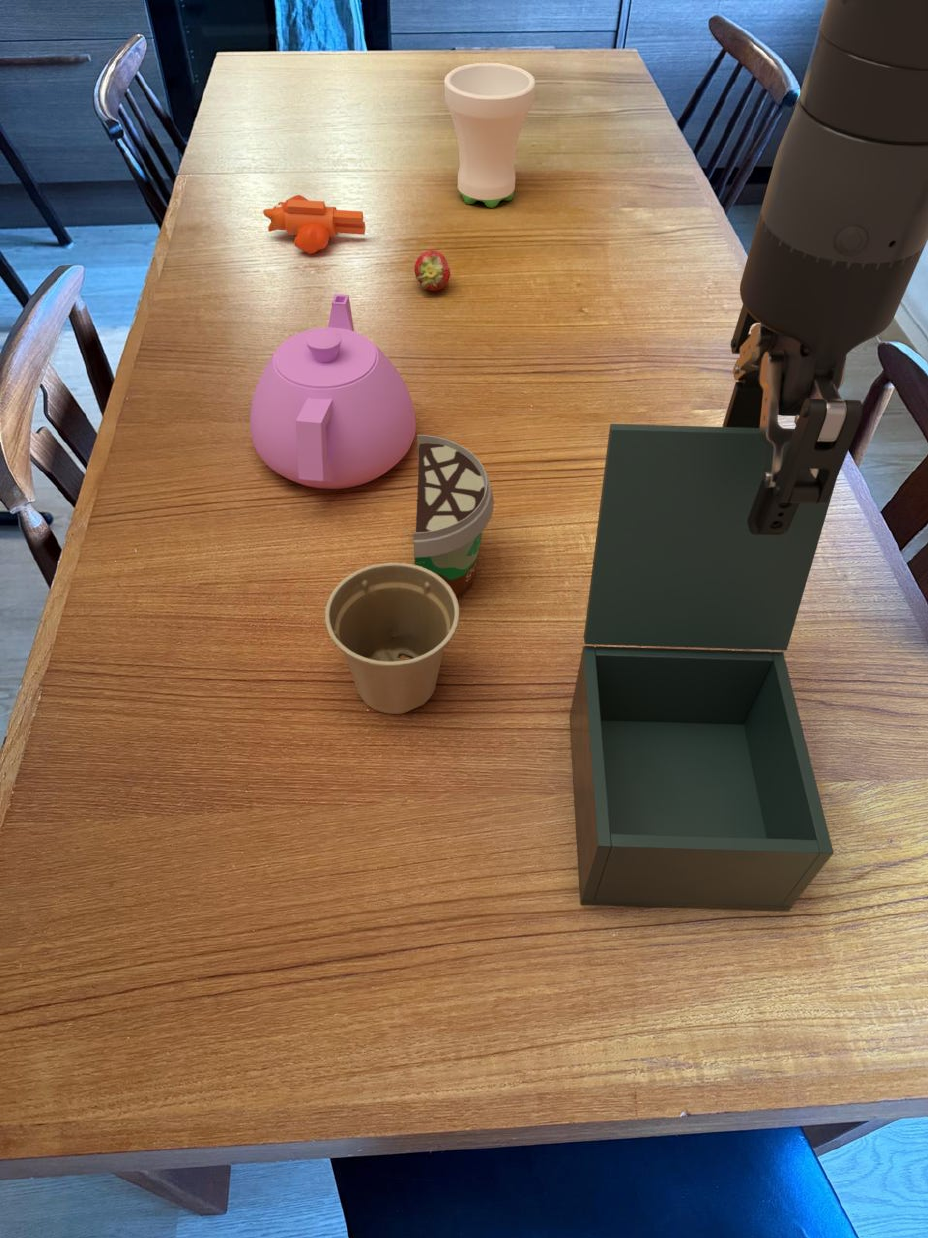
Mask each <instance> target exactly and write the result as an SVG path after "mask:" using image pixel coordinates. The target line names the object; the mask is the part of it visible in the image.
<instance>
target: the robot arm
mask: <svg viewBox="0 0 928 1238" xmlns="http://www.w3.org/2000/svg"><path fill="white" fill-rule="evenodd" d="M775 155H776V156H775V159H774V162H773V164H772V169H771V172H770V176H769V180H768V184H767V187H766V191H765V194H764V198H763V201H762V205H761V208H760V212H759V215H758V220H757V223H756V227H755V230H754V234H753V237H752V241H751V244H750V248H749V251H748V255H747V258H746V262H745V265H744V268H743V273H742V277H741V280H740V285H739V296H740V299H741V302H742V306H741V309H740V312H739V316H738V318H737V322H736V325H735V329H734V332H733V335H732V338H731V340H730V350H731V351H730V352H731V354H733V355H739V356H738V358H737V359H736V361H735V363H734V366H733V368H732V374H733V379H734V381H735V383H734V386H733V390H732V393H731V396H730V399H729V402H728V406H727V409H726V412H725V415H724V420H723V423H722V427H738V428H760V429H759V437H760V439H761V440H762V441H763V442H765V443H766V445H767V453H766V462H765V472H764V475H763V479H762V481H761V484H760V487H759V489H758V492H757V495H756V498H755V500H754V503H753V506H752V509H751V511H750V514H749V517H748V519H747V523H748V527H749V531H750V532H751V533H752V534H756V535H782V534H784V533H786V532H787V531H788V529H789V527H790V525H791V522H792V520H793V518H794V515H795V513H796V511H797V508H798V506H799V503H810V504H825V503H826V502H827V501H828V499H829V496H830V494H831V491H832V489H833V487H834V484H835V485H836V483H837V480H838V477H839V474H840V472H841V470H842V467H843V464H844V462H845V459H846V458H847V454H848V452H849V450H850V447H851V446H852V442H853V441H854V438H855V435H856V433H857V430H858V428H859V426H860V423H861V421H862V417H863V411H864V409H863V408H864V407H863V403H862V401H861V400H860V399H842V396H841V395H840V393H839V389H840V388H841V387H842V386H843V384H844V381H845V375H846V374H845V373H846V363H847V355H848V354H849V353H850V352H851V351H852V350H853V349H856V347H858V346H859V345H861V344H864V343H865V342H867V341H870V340H871V339H874V338H876V337H877V336H879V335H880V334H881V333H883V332H884V331H885V330H886V329H887V328H888V327H889V326H890V325H891V323H892V322H893V321H894V318H895V316H896V314H897V312H898V309H899V307H900V305H901V302H902V299H903V298H904V295H905V293H906V291H907V288H908V286H909V285H910V282H911V279H912V277H913V275H914V272H915V270H916V268H917V265H918V264H919V261H920V258H921V256H922V254H923V252H924V250H925V247H926V245H927V243H928V0H826V2H825V5H824V9H823V11H822V14H821V18H820V20H819V25H818V29H817V32H816V36H815V40H814V43H813V47H812V49H811V53H810V57H809V61H808V64H807V67H806V71H805V75H804V78H803V81H802V85H801V89H800V93H799V96H798V99H797V101H796V104H795V106H794V110H793V112H792V115H791V118H790V120H789V122H788V125H787V127H786V129H785V131H784V134H783V137H782V139H781V141H780V144H779V146H778V149H777V152H776V154H775ZM753 325H754V326H753ZM752 326H753V327H752ZM751 327H752V328H751ZM779 416H780V417H781V416H782V417H794V421H793V422H794V425H795V427H794V428H789V427H788V428H784V427H782V426H781V425H780V424H779ZM788 443H789V446H788V449H787V452H786V455H785V458H784V461H783V464H782V455H783V448H784V446H785V445H786V444H788ZM781 465H782V466H781ZM818 469H819V471H818ZM836 479H837V480H836ZM835 482H836V483H835ZM834 488H835V487H834Z"/></svg>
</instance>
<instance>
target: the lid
mask: <svg viewBox="0 0 928 1238" xmlns="http://www.w3.org/2000/svg"><path fill="white" fill-rule="evenodd" d="M759 429H760V428H738V427H723V426H705V425H704V426H703V425H701V426H699V425H698V426H697V425H695V426H693V425H667V424H666V425H665V424H663V425H662V424H633V423H632V424H631V423H630V424H629V423H628V424H627V423H610V424H609V431H608V438H607V447H606V455H605V462H604V470H603V480H602V487H601V495H600V503H599V511H598V518H597V520H598V521H597V527H596V535H595V543H594V550H593V551H594V552H593V558H592V559H593V560H592V567H591V575H590V583H589V590H588V591H589V593H588V599H587V607H586V615H585V623H584V633H583V641H584V645H591V646H624V647H657V648H665V647H666V648H690V649H723V650H756V651H762V650H763V651H787V650H788V647H789V644H790V640H791V636H792V634H793V630H794V626H795V624H796V621H797V616H798V613H799V610H800V607H801V603H802V599H803V597H804V593H805V589H806V585H807V582H808V578H809V576H810V572H811V568H812V565H813V562H814V558H815V556H816V551H817V548H818V545H819V541H820V538H821V535H822V531H823V527H824V524H825V521H826V517H827V514H828V511H829V507H830V504H831V501H832V496H833V494H834V493H833V492H834V490H835V487H836V483H837V480H838V478H837V479H836V482H835V484H834V487H833V489H832V491H831V494H830V496H829V499H828V501H827V502H826V503H825V504H810V503H799V506H798V508H797V511H796V513H795V515H794V518H793V520H792V522H791V525H790V527H789V529H788V531H787V532H786V533H784V534H782V535H756V534H752V533H751V532H750V531H749V527H748V523H747V519H748V517H749V514H750V511H751V509H752V506H753V503H754V500H755V498H756V495H757V492H758V489H759V487H760V484H761V481H762V479H763V475H764V472H765V462H766V453H767V445H766V443H765V442H763V441H762V440H761V439H760V437H759ZM788 446H789V443H788V444H786V445H785V446H784V448H783V455H782V464H783V461H784V458H785V455H786V452H787V449H788ZM781 466H782V465H781ZM818 471H819V469H818Z"/></svg>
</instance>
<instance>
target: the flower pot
mask: <svg viewBox="0 0 928 1238" xmlns="http://www.w3.org/2000/svg"><path fill="white" fill-rule="evenodd" d="M459 604H460V603H459V601H458V599H457V598H456V596H455V593H454V592H453V590H452V588H451V587H450V586H449V585H448V584H447V583H446V582H445V581H444V580H443V579H442V578H441V577H440V576H438V575H437V574H436V573H434V572H432V571H430V570H428V569H426V568H423V567H421V566H417V565H415V564H414V563H408V562H407V563H406V562H397V561H396V562H395V561H390V562H384V563H379V562H378V563H375V564H370V565H367V566H364V567H361V568H360V569H357V570H355V571H353V572H351V573H350V574H348V575H347V576H346V577H344V578H343V579H341V581H340V582H339V583H338V584H337V585H336V587H334V589H333V590H332V591H331V593H330V595H329V597H328V599H327V601H326V604H325V608H324V623H325V627H326V630H327V633H328V635H329V637H330V639H331V641H332V642H333V643H334V645H335V646H336V647H337V648H338V649H339V650H340V651H341V652H342V654H343V655H344V657H345V660H346V663H347V665H348V668H349V671H350V674H351V677H352V679H353V683H354V685H355V690H356V691H357V693H358V695H359V697H360V699H362V701H363V702H364V703H365V705H366V706H368V707H369V708H371V709H372V710H375V711H377V712H380V713H383V714H389V715H400V714H406V713H408V712H410V711H412V710H414V709H417V708H418V707H421V706H424V705H425V704H426V703H427V702H428V701H429V700H430V698H431V697H432V696H433V694H434V692H435V690H436V686H437V682H438V676H439V672H440V667H441V663H442V659H443V655H444V651H445V649H446V647H447V646H448V644H449V643H450V641H451V640H452V638H453V637H454V635H455V633H456V631H457V629H458V626H459V622H460V605H459ZM400 655H404V656H407V657H409V659H404V658H401V657H400V658H399V656H400Z"/></svg>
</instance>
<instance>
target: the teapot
mask: <svg viewBox="0 0 928 1238" xmlns="http://www.w3.org/2000/svg"><path fill="white" fill-rule="evenodd" d="M249 423H250V425H249V426H250V430H249V431H250V436H251V442H252V445H253V447H254V449H255V452H256V453H257V455H258V456H259V457H260V459H261V460H262V461H263V463H265V465H267V467H268V468H270V469H271V470H272V471H274V472H275V473H277V474H279V475H280V476H282V477H284V478H286V479H288V480H290V481H292V482H294V483H297V484H300V485H302V486H306V487H309V488H314V489H323V490H324V489H325V490H339V489H341V490H342V489H349V488H354V487H358V486H361V485H364V484H367V483H370V482H372V481H374V480H376V479H378V478H379V477H381V476H383V475H384V474H385V473H387V472H388V471H390V470H391V469H392V468H394V466H396V465H397V464H398V463H399V462H400V461H401V460H402V459H403V458H404V457H405V456H406V454H408V452H409V450H410V449H411V445H412V444H413V442H414V439H415V435H416V430H417V428H416V427H417V420H416V412H415V407H414V404H413V400H412V396H411V394H410V391H409V389H408V387H407V385H406V382H405V380H404V379H403V377H402V375H401V374H400V372H399V370H398V369H397V368H396V367H395V365H394V363H392V361H391V360H390V359H389V358H388V357H387V356H386V355H385V353H384V352H383V351H382V350H381V349H380V348H379V347H378V346H377V345H376V344H375V343H374V342H373V341H372V340H371V339H369V338H368V337H367V336H365V335H363V334H361V333H359V332H357V331H355V326H354V321H353V315H352V308H351V301H350V295H349V294H342V293H341V294H340V293H334V296H333V299H332V300H331V309H330V314H329V321H328V324H327V327H316V328H311V329H307V330H303V331H300V332H298V333H295V334H293V335H291V336H289V337H288V338H286V339H285V340H284V341H283V342H282V343H280V344H279V346H278V347H277V348H276V349H275V351H274V352H273V354H272V355H271V357H270V358H269V360H268V362H267V364H266V366H265V367H264V369H263V371H262V373H261V375H260V377H259V379H258V382H257V385H256V387H255V389H254V392H253V397H252V401H251V407H250V422H249Z"/></svg>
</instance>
